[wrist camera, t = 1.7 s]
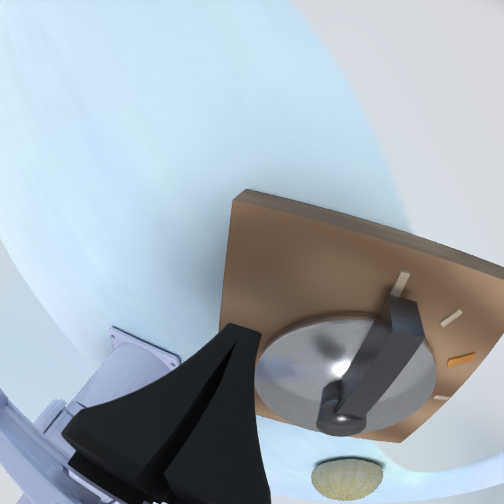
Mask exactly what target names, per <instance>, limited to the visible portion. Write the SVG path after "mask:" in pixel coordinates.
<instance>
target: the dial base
mask: <svg viewBox="0 0 504 504" xmlns="http://www.w3.org/2000/svg"><path fill="white" fill-rule="evenodd" d="M387 294H390V295H394V296H398V297H401V298H405V299H409V300H412V301H416V302H417V305H418V309H419V313H420V317H421V321H422V325H423V329H424V333H425V340H426V341H427V343H428V344H429V346H430V348H431V350H432V353H433V357H434V362H435V367H436V383H435V387H434V389H433V391H432V394H431V395H430V397H429V398H428V400H427V401H426V402H425V403H424V405H423V406H422V407H421V408H420V409H418V410H417V411H416V412H415V413H414V414H412V415H411V416H409V417H408V418H406V419H404V420H403V421H401V422H399V423H397V424H394V425H392V426H389V427H387V428H384V429H380V430H377V431H372V432H367V433H360V434H355V435H351V436H349V437H355V438H362V439H369V440H376V441H386V442H396V443H401V442H402V441H403V440H405V439H406V438H407V437H408V436H410V435H411V434H412V433H413V432H414V431H415V430H417V429H418V428H419V427H420V426H421V425H422V424H423V423H424V422H426V421H427V420H428V419H429V418H430V417H431V416H432V415H433V414H434V413H435V412H436V411H437V410H438V409H439V408H440V407H442V405H444V403H445V402H447V401H448V399H449V398H450V397H451V396H452V395H453V394H454V393H455V392H456V391H457V390H458V389H459V388H460V387H461V386H462V385H463V384H464V382H465V381H466V380H467V379H468V378H469V377H470V376H471V374H472V373H473V372H474V371H475V370H476V369H477V367H478V366H479V365H480V364H481V362H482V361H483V360H484V359H485V357H486V356H487V355H488V354H489V352H490V351H491V350H492V348H493V347H494V346H495V344H496V343H497V342H498V340H499V339H500V337H501V336H502V335H503V333H504V267H501V266H499V265H496V264H494V263H491V262H489V261H486V260H483V259H481V258H478V257H476V256H473V255H470V254H467V253H465V252H462V251H459V250H456V249H454V248H451V247H448V246H445V245H442V244H439V243H436V242H433V241H431V240H428V239H425V238H422V237H419V236H416V235H413V234H409V233H406V232H403V231H400V230H397V229H394V228H390V227H387V226H384V225H381V224H377V223H374V222H371V221H367V220H364V219H360V218H357V217H354V216H350V215H347V214H343V213H339V212H336V211H332V210H328V209H325V208H321V207H317V206H313V205H310V204H306V203H302V202H298V201H294V200H290V199H286V198H282V197H278V196H273V195H269V194H265V193H261V192H256V191H252V190H248V189H245V190H244V191H243V192H242V193H240V194H239V195H238V196H237V197H236V198H234V199H233V202H232V210H231V218H230V227H229V236H228V244H227V253H226V263H225V272H224V281H223V291H222V301H221V311H220V322H219V332H220V331H221V330H222V329H223V328H224V327H225V326H226V324H228V323H233V324H236V325H239V326H242V327H245V328H249V329H252V330H255V331H258V332H260V333H261V334H262V336H261V340H260V345H259V349H258V353H257V357H256V363H255V369H256V366H257V364H258V361H259V358H260V356H261V353H262V351H263V349H264V348H265V346H266V345H267V343H268V342H269V341H270V340H271V339H272V338H273V337H274V336H275V335H277V334H278V333H279V332H280V331H282V330H284V329H285V328H287V327H289V326H290V325H293V324H295V323H297V322H300V321H302V320H305V319H308V318H312V317H315V316H320V315H325V314H331V313H341V312H361V313H372V314H378V313H379V311H380V309H381V307H382V304H383V302H384V300H385V298H386V296H387ZM219 332H218V333H219ZM254 395H255V414H256V415H259V416H262V417H266V418H269V419H273V420H276V421H280V422H284V423H288V424H292V423H290V422H288V421H286V420H284V419H283V418H281V417H280V416H278V415H277V414H275V413H274V412H273V411H272V410H270V409H269V408H268V407H267V406H266V405H265V403H264V402H263V401H262V399H261V398H260V396H259V394H258V392H257V390H256V387H255V382H254ZM292 425H295V424H292ZM296 426H297V425H296Z"/></svg>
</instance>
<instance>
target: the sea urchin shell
mask: <svg viewBox="0 0 504 504" xmlns="http://www.w3.org/2000/svg"><path fill="white" fill-rule="evenodd" d="M311 477H312V478H311V479H312V484H313V485H314V487H315V488H316V490H317V491H318V492H319V493H320V494H322V495H323V496H326V497H327V498H330V499H334V500H339V501H340V500H342V501H352V500H357V499H361V498H364V497H365V496H367V495H369V494H370V493H372V492H374V490H375V489H377V487H378V486H379V484H380V483H381V481H382V478H383V471H382V469H381V468H380V466H379V465H377V464H374V463H372V462H367V461H365V460H358V459H342V460H341V459H338V460H335V461H329V462H326V463H322V464H320V465H319V466H317V467H316V468H315V469H314V470H313V472H312V476H311Z"/></svg>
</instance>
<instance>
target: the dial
mask: <svg viewBox="0 0 504 504" xmlns="http://www.w3.org/2000/svg"><path fill="white" fill-rule="evenodd" d="M254 382H255V387H256V390H257V392H258V394H259V396H260V398H261V399H262V401H263V402H264V403H265V405H266V406H267V407H268V408H269V409H270V410H272V411H273V412H274V413H275V414H277V415H278V416H280V417H281V418H283V419H284V420H286V421H288V422H290V423H292V424H295V425H297V426H299V427H302V428H305V429H309V430H313V431H317V432H322V433H325V434H327V435H331V436H340V437H343V436H351V435H355V434H360V433H367V432H372V431H377V430H380V429H384V428H387V427H389V426H392V425H394V424H397V423H399V422H401V421H403V420H404V419H406V418H408V417H409V416H411V415H412V414H414V413H415V412H416V411H417V410H418V409H420V408H421V407H422V406H423V405H424V403H425V402H426V401H427V400H428V398H429V397H430V395H431V394H432V391H433V389H434V387H435V383H436V367H435V362H434V357H433V353H432V350H431V348H430V346H429V344H428V343H427V341H426V340H425V333H424V329H423V325H422V321H421V317H420V313H419V309H418V305H417V302H416V301H412V300H409V299H405V298H401V297H398V296H394V295H390V294H387V296H386V298H385V300H384V302H383V304H382V307H381V309H380V311H379V313H378V314H372V313H361V312H341V313H331V314H325V315H320V316H315V317H312V318H308V319H305V320H302V321H300V322H297V323H295V324H293V325H290V326H289V327H287V328H285V329H284V330H282V331H280V332H279V333H278V334H277V335H275V336H274V337H273V338H272V339H271V340H270V341H269V342H268V343H267V345H266V346H265V348H264V349H263V351H262V353H261V356H260V358H259V361H258V364H257V366H256V369H255V380H254Z"/></svg>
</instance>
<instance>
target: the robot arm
mask: <svg viewBox="0 0 504 504" xmlns="http://www.w3.org/2000/svg"><path fill="white" fill-rule="evenodd" d="M109 334H110V338H111V341H112V345H113V348H114V351H113V352H112V353H111V355H110V356H109V357H108V358H107V359H106V361H105V362H104V363H103V364H102V365H101V366H100V368H99V369H98V370H97V371H96V372H95V374H94V375H93V376H92V377H91V378H90V380H89V381H88V382H87V383H86V385H85V386H84V387H83V388H82V389H81V391H80V392H79V393H78V394H77V396H76V397H75V398H74V399H72V400H71V402H70V403H69V404H68V405H67V407H65V405H66V402H65V401H64V400H62V399H61V400H53V401H52V402H51V403H50V404H49V405H48V406H47V408H46V409H45V410H44V411H43V412H42V413H41V415H40V416H39V417H38V418H37V420H36V421H35V422H34V423H32V422H31V421H30V420H29V419H27V418H26V417H25V416H24V415H23V414H22V413H21V412H20V411H19V410H18V409H17V408H16V407H15V406H14V405H13V404H12V403H11V401H10V400H9V399H8V397H7V396H6V395H5V394H4V393H3V391H2V390H1V389H0V464H1V465H2V466H3V468H4V469H5V471H6V472H7V473H8V474H9V476H10V477H11V478H12V479H13V480H14V482H15V483H16V484H17V485H18V486H19V488H20V489H21V490H22V491H23V492H24V494H23V495H22V497H21V498H20V499H19V501H18V502H17V504H153V502H156V503H158V504H161V503H162V502H165V503H167V504H271V497H270V496H271V492H270V488H269V485H268V482H267V478H266V474H265V470H264V466H263V461H262V457H261V451H260V445H259V439H258V433H257V425H256V414H255V395H254V380H255V363H256V357H257V353H258V349H259V345H260V340H261V336H262V334H261V333H260V332H258V331H255V330H252V329H249V328H245V327H242V326H239V325H236V324H233V323H228V324H226V326H225V327H224V328H223V329H222V330H221V331H220V332H219V333H218V334H217V335H216V336H215V337H214V338H213V339H212V340H210V341H209V342H208V343H207V344H206V345H205V346H204V347H202V348H201V349H200V350H199V351H198V352H197V353H195V354H194V355H193V356H192V357H190V358H189V359H188V360H186V361H185V362H183V363H182V364H181V365H180V361H179V359H178V357H176V356H175V355H172V354H170V353H167V352H165V351H163V350H160V349H158V348H156V347H154V346H151V345H149V344H147V343H145V342H142V341H140V340H138V339H136V338H134V337H132V336H130V335H128V334H125V333H123V332H121V331H119V330H117V329H115V328H113V327H111V328H110V329H109Z"/></svg>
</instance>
